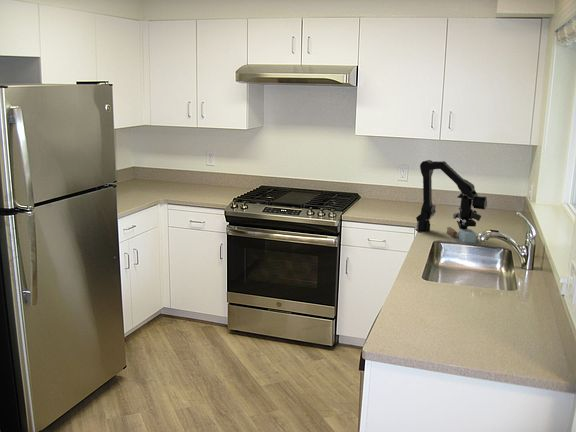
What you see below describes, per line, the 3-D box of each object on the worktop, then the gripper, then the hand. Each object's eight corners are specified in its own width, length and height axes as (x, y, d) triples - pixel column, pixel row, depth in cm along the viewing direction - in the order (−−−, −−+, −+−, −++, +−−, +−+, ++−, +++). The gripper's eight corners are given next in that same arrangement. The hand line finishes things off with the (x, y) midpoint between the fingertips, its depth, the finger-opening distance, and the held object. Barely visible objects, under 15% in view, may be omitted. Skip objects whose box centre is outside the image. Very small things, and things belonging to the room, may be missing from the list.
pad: (459, 244, 310) (459, 243, 310) (451, 238, 321) (451, 237, 321) (482, 244, 310) (482, 244, 310) (473, 238, 322) (473, 237, 322)
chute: (451, 238, 321) (452, 232, 320) (445, 233, 331) (446, 227, 330) (473, 238, 322) (474, 232, 321) (467, 233, 332) (467, 227, 331)
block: (464, 242, 312) (465, 233, 311) (458, 238, 320) (459, 229, 319) (475, 242, 313) (476, 233, 311) (469, 238, 320) (470, 229, 319)
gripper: (487, 211, 310) (483, 240, 314) (474, 203, 328) (470, 230, 332) (466, 210, 309) (463, 239, 313) (454, 202, 327) (451, 230, 331)
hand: (462, 234), depth 322 cm, fingers closed
